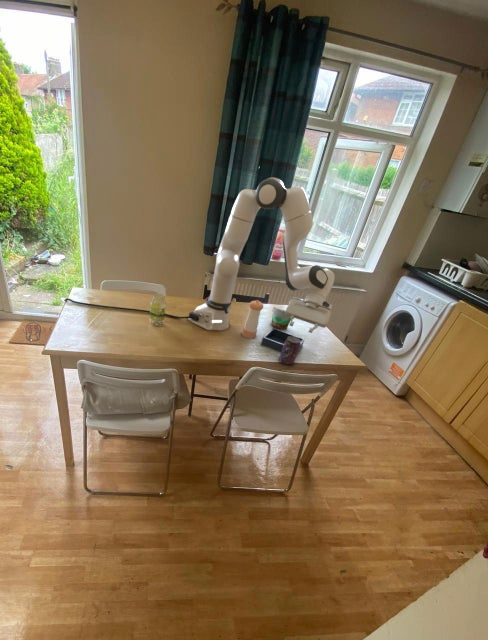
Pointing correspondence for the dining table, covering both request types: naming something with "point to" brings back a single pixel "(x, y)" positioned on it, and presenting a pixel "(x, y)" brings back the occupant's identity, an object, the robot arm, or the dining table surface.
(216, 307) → the robot arm
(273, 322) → the food container
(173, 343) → the dining table surface
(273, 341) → the tray
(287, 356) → the beverage can
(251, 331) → the pepper shaker
